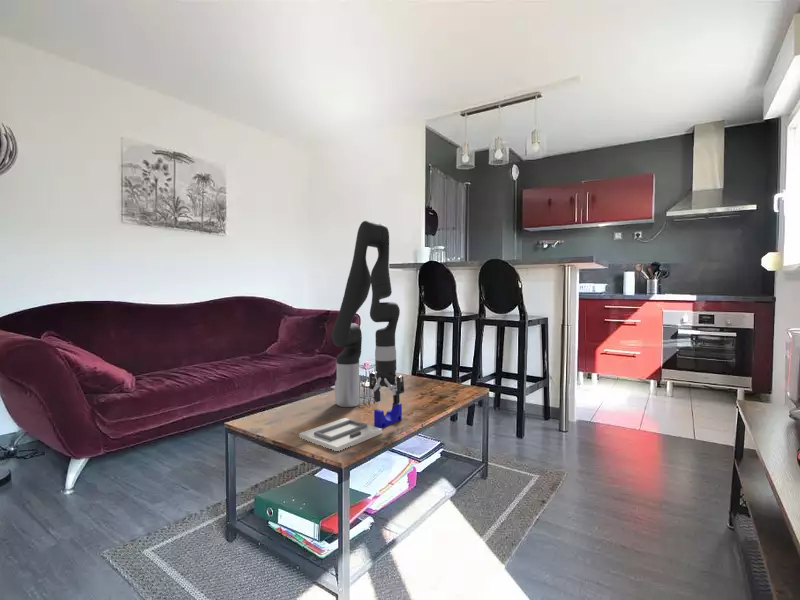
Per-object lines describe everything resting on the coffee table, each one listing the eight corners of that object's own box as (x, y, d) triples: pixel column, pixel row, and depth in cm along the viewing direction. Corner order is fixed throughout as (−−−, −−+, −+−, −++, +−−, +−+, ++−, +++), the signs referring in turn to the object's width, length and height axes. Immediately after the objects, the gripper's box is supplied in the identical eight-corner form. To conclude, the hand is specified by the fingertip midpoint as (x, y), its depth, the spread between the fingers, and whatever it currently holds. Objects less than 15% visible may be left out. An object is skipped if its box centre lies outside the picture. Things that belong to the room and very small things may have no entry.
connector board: (299, 437, 136) (299, 430, 136) (344, 421, 151) (344, 415, 151) (337, 452, 124) (337, 443, 124) (382, 433, 140) (382, 425, 140)
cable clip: (391, 417, 157) (391, 401, 156) (401, 419, 154) (401, 403, 154) (370, 426, 147) (370, 409, 147) (381, 429, 144) (380, 411, 144)
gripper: (408, 358, 149) (408, 403, 149) (377, 355, 158) (378, 398, 158) (394, 361, 143) (395, 409, 144) (363, 357, 152) (364, 402, 152)
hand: (386, 403), depth 151 cm, fingers open, 8 cm apart
